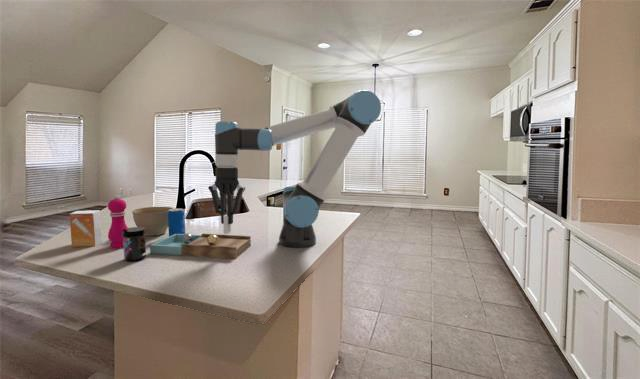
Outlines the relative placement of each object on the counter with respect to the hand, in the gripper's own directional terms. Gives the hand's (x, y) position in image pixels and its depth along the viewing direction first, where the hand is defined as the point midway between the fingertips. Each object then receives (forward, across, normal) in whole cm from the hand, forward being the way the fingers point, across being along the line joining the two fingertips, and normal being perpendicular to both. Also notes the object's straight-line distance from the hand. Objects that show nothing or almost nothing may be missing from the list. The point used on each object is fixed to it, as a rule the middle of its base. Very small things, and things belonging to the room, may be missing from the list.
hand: (227, 232), depth 117 cm
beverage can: (+9, +30, -18) cm, 37 cm away
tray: (+8, +22, -4) cm, 23 cm away
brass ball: (+3, +6, 0) cm, 6 cm away
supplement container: (+9, +29, +10) cm, 32 cm away
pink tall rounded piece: (+9, +44, -2) cm, 45 cm away
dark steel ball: (+6, +20, -8) cm, 22 cm away
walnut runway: (+8, +6, -4) cm, 11 cm away
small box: (+9, +58, -2) cm, 59 cm away
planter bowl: (+9, +44, -22) cm, 49 cm away
